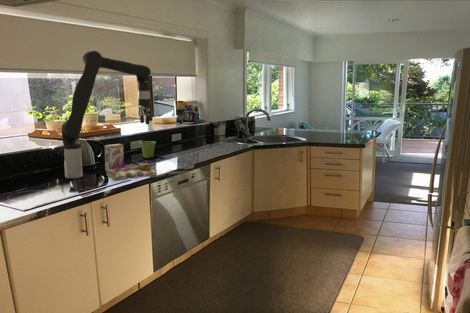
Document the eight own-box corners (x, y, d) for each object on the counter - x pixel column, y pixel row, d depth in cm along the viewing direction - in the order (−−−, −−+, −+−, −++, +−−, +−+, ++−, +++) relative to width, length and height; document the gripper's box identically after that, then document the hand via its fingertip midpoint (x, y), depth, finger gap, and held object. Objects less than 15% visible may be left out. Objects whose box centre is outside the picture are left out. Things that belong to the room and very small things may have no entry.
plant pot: (139, 156, 304) (138, 141, 302) (155, 155, 307) (154, 140, 305) (140, 159, 293) (140, 143, 291) (157, 158, 296) (156, 143, 294)
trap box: (114, 180, 230) (114, 172, 229) (106, 175, 241) (106, 168, 241) (156, 174, 245) (156, 167, 244) (147, 170, 256) (147, 163, 255)
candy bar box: (109, 172, 250) (108, 146, 247) (105, 171, 254) (103, 145, 250) (124, 169, 259) (123, 144, 256) (120, 168, 262) (119, 143, 259)
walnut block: (141, 171, 246) (141, 165, 245) (138, 169, 250) (137, 163, 250) (150, 169, 249) (150, 164, 248) (147, 168, 254) (146, 162, 253)
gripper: (134, 97, 258) (135, 122, 261) (142, 98, 247) (143, 125, 250) (145, 97, 262) (146, 122, 265) (154, 98, 251) (154, 124, 254)
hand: (144, 123), depth 257 cm, fingers open, 8 cm apart
